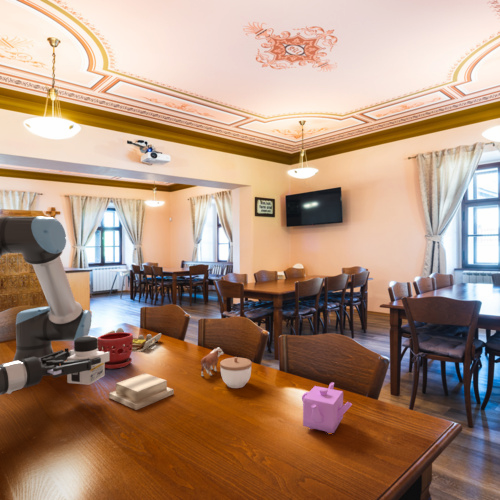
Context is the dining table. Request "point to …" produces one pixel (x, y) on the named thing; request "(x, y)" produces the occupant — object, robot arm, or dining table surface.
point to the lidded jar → (235, 371)
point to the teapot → (323, 408)
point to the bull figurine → (210, 361)
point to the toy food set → (140, 341)
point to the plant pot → (116, 348)
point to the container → (83, 350)
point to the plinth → (141, 403)
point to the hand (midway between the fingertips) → (99, 353)
